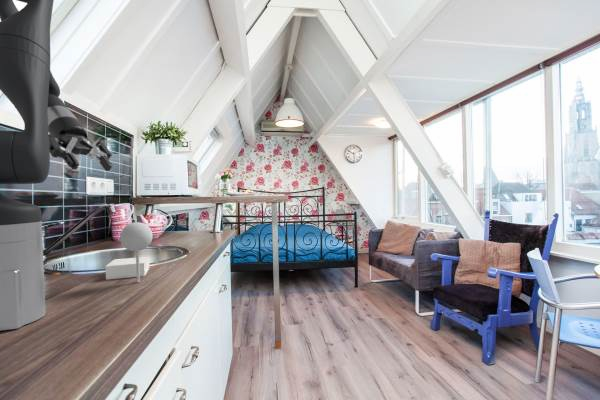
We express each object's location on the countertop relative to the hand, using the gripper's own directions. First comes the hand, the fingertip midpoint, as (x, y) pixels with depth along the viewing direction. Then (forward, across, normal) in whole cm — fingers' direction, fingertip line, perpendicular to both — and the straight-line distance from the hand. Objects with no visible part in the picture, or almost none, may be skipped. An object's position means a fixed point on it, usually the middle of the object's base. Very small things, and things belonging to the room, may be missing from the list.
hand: (93, 168), depth 79 cm
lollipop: (+30, 0, +10) cm, 32 cm away
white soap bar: (+24, +6, +17) cm, 30 cm away
